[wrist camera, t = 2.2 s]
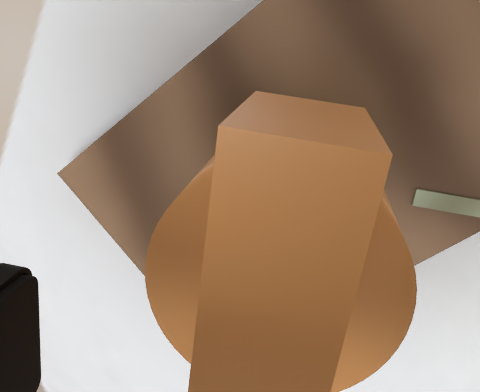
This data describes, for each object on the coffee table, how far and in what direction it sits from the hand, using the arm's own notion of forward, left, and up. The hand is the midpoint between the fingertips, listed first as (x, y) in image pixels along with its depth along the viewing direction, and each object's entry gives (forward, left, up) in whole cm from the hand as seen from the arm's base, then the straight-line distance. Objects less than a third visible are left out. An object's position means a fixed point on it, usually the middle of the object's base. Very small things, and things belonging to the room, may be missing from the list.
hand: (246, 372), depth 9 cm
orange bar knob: (0, 0, -7) cm, 7 cm away
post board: (0, 0, -15) cm, 15 cm away
